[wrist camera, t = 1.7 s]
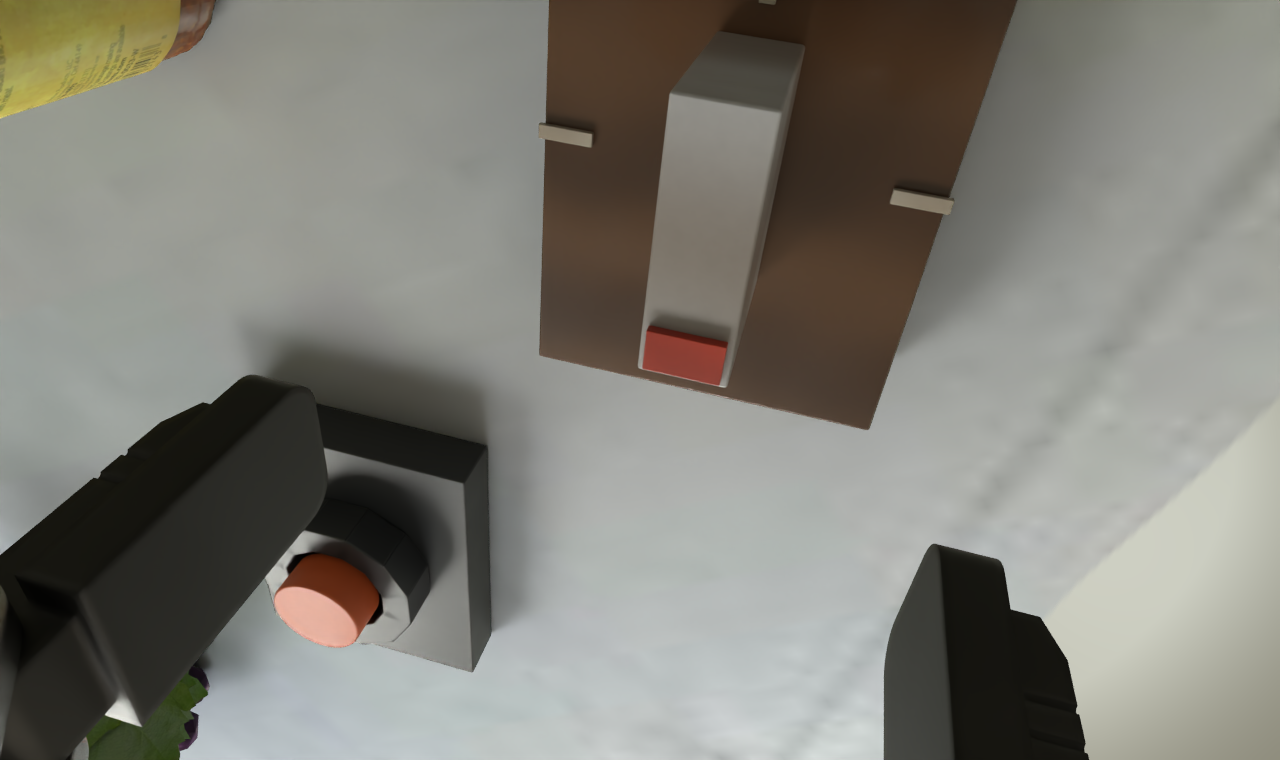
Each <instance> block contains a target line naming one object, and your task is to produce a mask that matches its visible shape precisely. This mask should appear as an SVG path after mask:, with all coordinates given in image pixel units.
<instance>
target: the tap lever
mask: <svg viewBox="0 0 1280 760" xmlns="http://www.w3.org/2000/svg"><path fill="white" fill-rule="evenodd" d="M804 52H805V46H804V45H802V44H796V43H790V42H784V41H777V40H771V39H765V38H759V37H753V36H747V35H740V34H734V33H728V32H722V31H718V32H717V33H716V34H715V35H714V37H713V38H712V39H711V41H710V42H709V43H708V44H707V46H706V47H705V48H704V49H703V51H702V52H701V53H700V55H699V56H698V57H697V58H696V60H695V61H694V62H693V64H692V65H691V66H690V67H689V69H688V70H687V71H686V72H685V74H684V75H683V76H682V78H681V79H680V80H679V81H678V83H677V84H676V85H675V86H674V88H673V89H672V90H671V92H670V94H669V102H668V111H667V120H666V128H665V137H664V145H663V154H662V162H661V171H660V179H659V188H658V197H657V205H656V214H655V222H654V231H653V239H652V248H651V256H650V265H649V274H648V282H647V291H646V299H645V308H644V316H643V325H642V333H641V342H640V351H639V359H638V368H640V369H644V370H648V371H653V372H657V373H661V374H666V375H670V376H675V377H679V378H684V379H688V380H692V381H697V382H701V383H706V384H710V385H715V386H719V387H723V388H724V387H727V385H728V382H729V379H730V375H731V371H732V368H733V364H734V361H735V357H736V353H737V350H738V346H739V343H740V339H741V336H742V332H743V328H744V325H745V321H746V318H747V314H748V311H749V307H750V303H751V300H752V296H753V293H754V289H755V285H756V282H757V277H758V272H759V268H760V263H761V258H762V253H763V248H764V244H765V239H766V234H767V229H768V224H769V220H770V215H771V210H772V205H773V200H774V196H775V191H776V186H777V181H778V176H779V172H780V167H781V162H782V157H783V152H784V148H785V143H786V138H787V133H788V128H789V124H790V119H791V114H792V109H793V104H794V100H795V95H796V90H797V85H798V80H799V76H800V71H801V66H802V61H803V56H804Z"/></svg>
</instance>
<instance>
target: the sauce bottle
mask: <svg viewBox="0 0 1280 760" xmlns="http://www.w3.org/2000/svg"><path fill="white" fill-rule="evenodd" d="M215 1H216V0H0V118H3V117H6V116H9V115H12V114H15V113H19V112H22V111H25V110H28V109H31V108H35V107H38V106H41V105H44V104H47V103H51V102H54V101H57V100H60V99H63V98H67V97H70V96H73V95H76V94H79V93H82V92H85V91H89V90H92V89H95V88H98V87H101V86H104V85H107V84H110V83H113V82H116V81H119V80H123V79H126V78H130V77H133V76H136V75H139V74H142V73H145V72H148V71H151V70H152V69H154V68H155V67H156V66H158V64H159V63H160V62H161V61H163V60H166V59H169V58H171V57H174V56H177V55H178V54H180V53H183V52H186V51H188V50H190V49H191V48H192V47H193V46H194V45H196V44H197V43H198V42H199V41H200V40H201V39H202V37H203V35H204V33H205V30H206V29H207V28H208V26H209V24H210V23H211V19H212V11H213V9H214V3H215Z"/></svg>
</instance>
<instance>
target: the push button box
mask: <svg viewBox="0 0 1280 760" xmlns="http://www.w3.org/2000/svg"><path fill="white" fill-rule="evenodd" d="M316 407H317V413H318V419H319V424H320V430H321V436H322V442H323V447H324V453H325V459H326V464H327V470H328V483H327V489H326V493H325V497H324V499H323V502H322V504H321V506H320V509H319V510H318V512H317V514H316V515H315V517H314V518H313V519H312V521H311V522H310V523H309V524H308V526H307V527H306V528H305V529H304V530H303V532H302V533H301V534H300V535H299V537H298V538H297V539H296V540H295V541H294V543H293V544H292V545H291V546H290V547H289V549H288V550H287V551H286V552H285V554H284V555H283V556H282V557H281V558H280V560H279V561H278V562H277V563H276V565H275V566H274V567H273V568H272V569H271V571H270V572H269V573H268V574H267V576H266V577H265V579H266V582H267V584H268V588H269V591H270V595H271V599H272V602H273V606H274V610H275V613H276V615H277V616H279V614H278V612H277V610H276V608H275V604H274V597H275V593H276V591H277V590H278V589H279V587H280V586H281V585H282V584H283V582H284V581H285V580H286V579H287V577H288V576H289V575H290V573H291V572H292V571H293V570H294V568H295V567H296V566H297V565H298V563H299V562H300V561H301V560H302V559H303V558H304V557H306V556H308V555H311V554H316V553H321V554H324V555H328V556H332V557H335V558H339V559H342V560H344V561H345V562H347V563H349V564H350V565H352V566H353V567H355V568H356V569H358V570H359V571H361V572H362V573H364V574H365V575H366V576H367V578H368V579H369V580H370V581H371V583H372V584H373V585H374V586H375V588H376V589H377V590H378V593H379V605H378V607H377V609H376V610H375V612H374V613H373V615H372V617H371V618H370V620H369V621H368V623H367V624H366V626H365V627H364V629H363V631H362V632H361V634H360V635H359V637H358V638H357V640H356V641H355V642H357V643H360V644H375V645H379V646H382V647H386V648H389V649H393V650H396V651H400V652H403V653H406V654H410V655H413V656H417V657H420V658H424V659H427V660H431V661H434V662H437V663H441V664H444V665H448V666H451V667H455V668H458V669H462V670H465V671H468V672H473V671H474V669H475V667H476V665H477V663H478V661H479V659H480V657H481V655H482V653H483V651H484V648H485V646H486V644H487V642H488V640H489V638H490V636H491V611H490V562H489V513H488V464H487V446H484V445H480V444H476V443H472V442H468V441H463V440H459V439H455V438H451V437H447V436H443V435H439V434H435V433H431V432H427V431H423V430H419V429H415V428H411V427H407V426H403V425H399V424H395V423H391V422H387V421H383V420H378V419H374V418H370V417H366V416H362V415H358V414H354V413H350V412H346V411H342V410H338V409H334V408H330V407H326V406H322V405H318V404H316ZM279 617H280V616H279Z"/></svg>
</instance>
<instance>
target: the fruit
mask: <svg viewBox="0 0 1280 760" xmlns="http://www.w3.org/2000/svg"><path fill="white" fill-rule="evenodd" d="M209 687H210V686H209V683H208V680H207V677H206V674H205V673H204V671H203V670H202V669H201V668H197V667H194V666H192V667H191V668H190V669H189V671H188V672H187V673H186V674H185V675H184V677H183V678H182V679H181V680H180V681H179V683H178V684H177V685H176V686H175V688H174V689H173V690H172V691H171V692H170V694H169V695H168V696H167V697H166V699H165V700H164V701H163V702H162V703H161V705H160V706H159V707H158V708H157V709H156V711H155V712H154V713H153V714H152V716H151V717H150V718H149V719H148V720H147V722H146V723H145V724H144V725H143V727H140V726H137V725H134V724H131V723H128V722H124V721H121V720H118V719H115V718H112V717H109V716H106V715H104V716H103V717H102V718H101V720H100V721H99V722H98V723H97V724H96V725H95V726H94V728H93V729H92V730H91V731H90V732H89V733H88V734H87V736H86V738H87V741H88V745H89V757H88V760H179V758H180V751H181V750H185V749H188V748H189V746H190V745H191V744H192V743H193V742H194V741H195V740H196V739H197V736H198V716H199V715H198V714H195V713H193V712H191V711H190V710H191V708H193V707H194V706H196V704H197V703H199V702H200V701H202V699H203V698H204V697H206V696H207V695H208V692H207V691H208V689H209Z"/></svg>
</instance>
